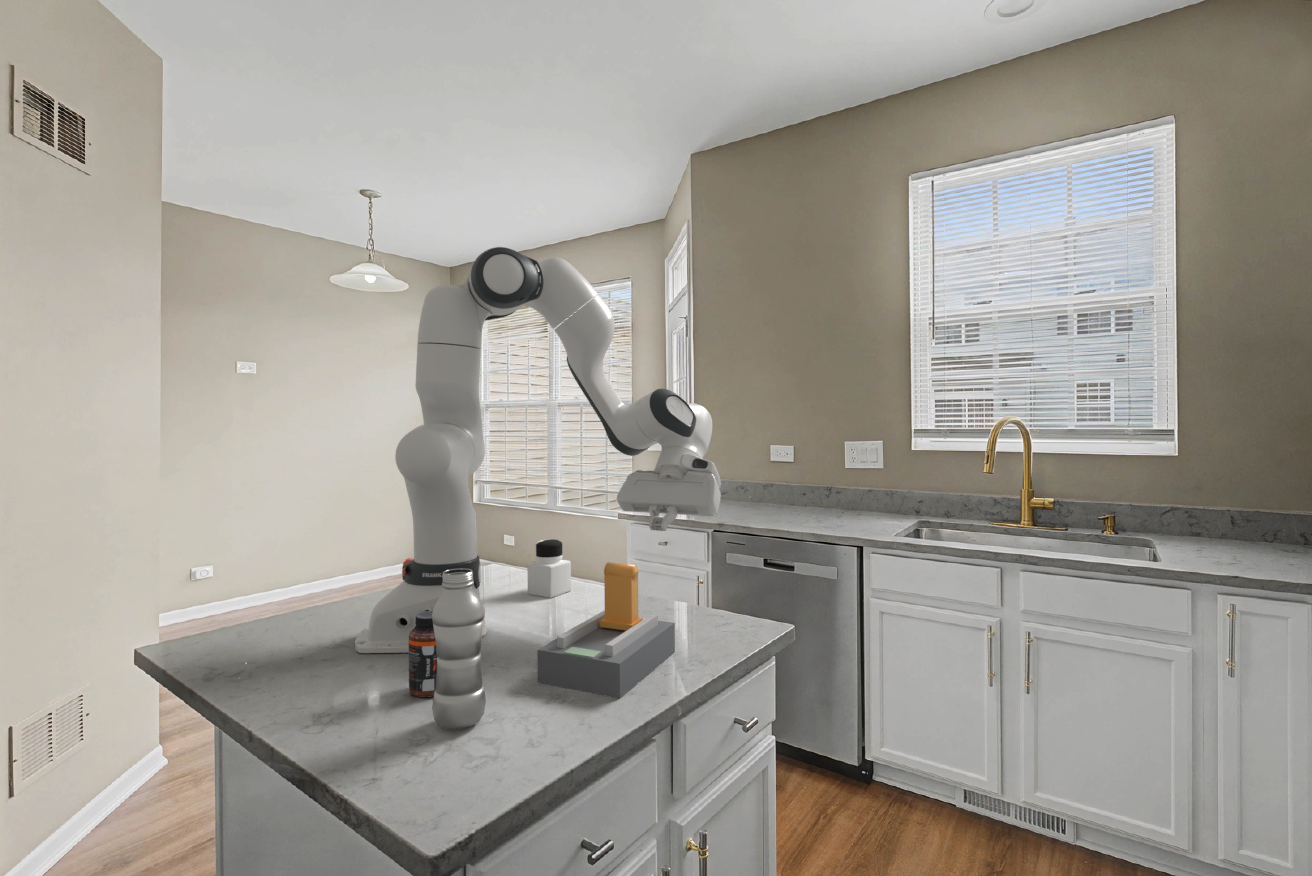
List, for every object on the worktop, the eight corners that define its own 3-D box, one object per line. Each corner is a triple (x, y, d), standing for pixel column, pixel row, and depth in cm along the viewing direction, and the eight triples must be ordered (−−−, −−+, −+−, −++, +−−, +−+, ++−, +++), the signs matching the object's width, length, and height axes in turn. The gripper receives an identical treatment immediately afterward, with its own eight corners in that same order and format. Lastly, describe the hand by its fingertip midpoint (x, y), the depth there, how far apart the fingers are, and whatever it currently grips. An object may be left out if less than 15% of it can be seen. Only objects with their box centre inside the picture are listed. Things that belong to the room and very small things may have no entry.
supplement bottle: (438, 700, 91) (437, 621, 91) (400, 697, 93) (399, 619, 92) (459, 683, 97) (458, 609, 97) (423, 680, 99) (422, 607, 98)
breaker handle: (611, 619, 110) (610, 559, 110) (643, 624, 108) (642, 562, 108) (599, 626, 107) (599, 564, 106) (632, 631, 104) (631, 567, 104)
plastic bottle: (439, 714, 87) (436, 566, 87) (490, 711, 88) (488, 565, 87) (426, 737, 81) (423, 578, 80) (481, 735, 81) (479, 577, 81)
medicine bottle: (571, 591, 149) (571, 539, 149) (550, 598, 143) (550, 544, 143) (548, 587, 153) (547, 536, 153) (527, 594, 147) (526, 541, 147)
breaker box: (602, 640, 116) (602, 604, 116) (674, 652, 110) (674, 613, 110) (537, 682, 98) (537, 639, 97) (620, 698, 92) (619, 652, 92)
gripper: (625, 460, 131) (601, 515, 122) (721, 462, 122) (703, 522, 114) (635, 480, 135) (613, 535, 127) (729, 484, 127) (712, 542, 118)
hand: (657, 528), depth 120 cm, fingers closed
